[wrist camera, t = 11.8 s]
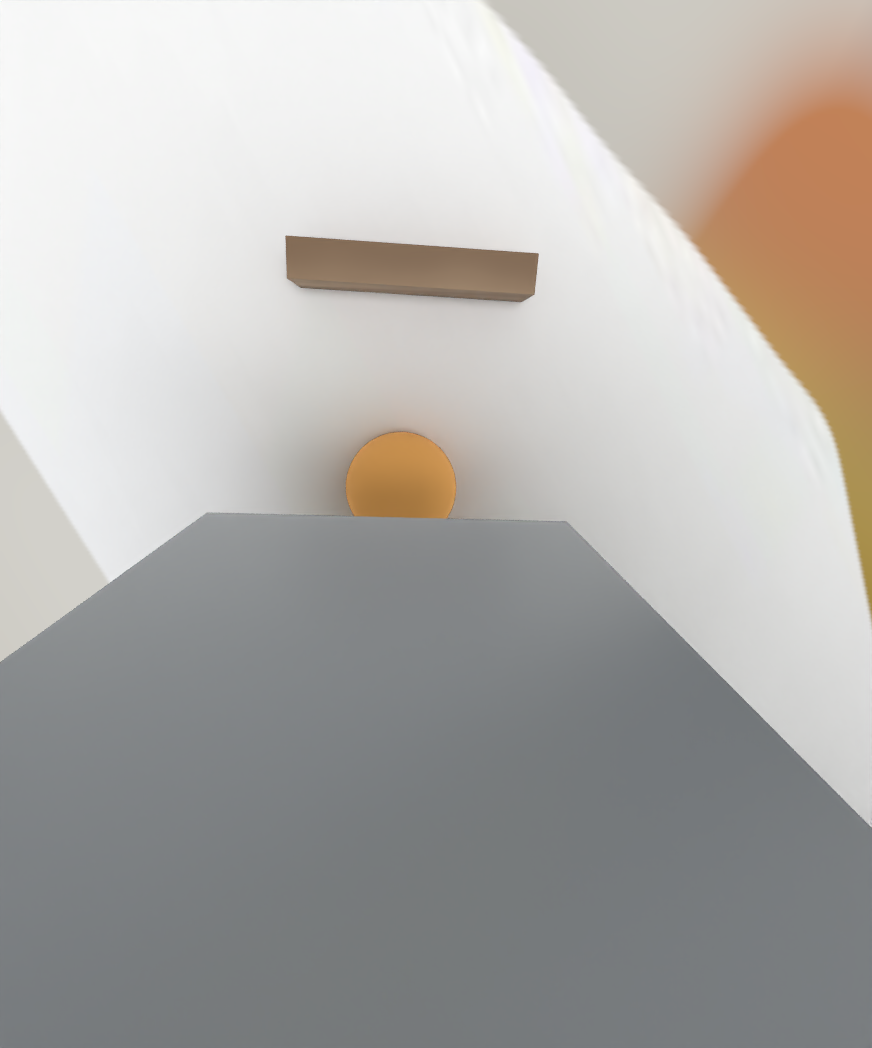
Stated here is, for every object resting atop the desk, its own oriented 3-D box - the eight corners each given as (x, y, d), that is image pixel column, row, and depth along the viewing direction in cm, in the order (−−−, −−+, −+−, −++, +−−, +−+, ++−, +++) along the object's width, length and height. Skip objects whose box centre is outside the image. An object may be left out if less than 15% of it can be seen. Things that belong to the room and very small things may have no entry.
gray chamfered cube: (531, 795, 13) (743, 1552, 5) (237, 798, 13) (-100, 1638, 4) (566, 521, 11) (1107, 1063, 2) (207, 512, 10) (-663, 1139, 2)
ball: (457, 409, 22) (449, 480, 26) (344, 407, 22) (354, 479, 26) (464, 498, 19) (454, 562, 23) (335, 497, 19) (347, 562, 23)
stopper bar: (521, 301, 23) (534, 294, 20) (300, 287, 22) (286, 278, 20) (525, 265, 22) (538, 253, 20) (299, 249, 21) (285, 235, 19)
